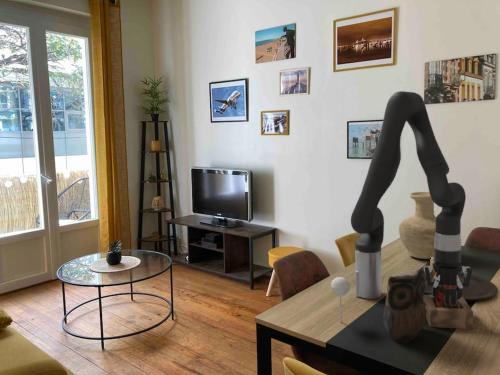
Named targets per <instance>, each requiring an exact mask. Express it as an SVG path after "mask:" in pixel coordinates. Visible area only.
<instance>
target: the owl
mask: <svg viewBox="0 0 500 375" xmlns="http://www.w3.org/2000/svg"><path fill="white" fill-rule="evenodd" d="M425 283H426V281H425V276H424V275H423V267H417V268H414V269H407V270H404V271H401V272H398V273H396V274H393V275H390V276H389V277H388V279H387V286H386V291H387V293H386V298H385V303H384V304H385V305H384V312H383V317H382V319H383V325H384V328H385V331H386V333H387V335H388V338H389V339H390V340H391V341H393V342H396V343H409V342H411V340H415V338H416V339H417V338H418V337H419V336H421V337H422V335H423V328H424V324H425V321H426V320H427V318H426V312H427V311H426V308H425V305H426V304H425V303H424V301H423V296H424V295H425V291H426V284H425Z"/></svg>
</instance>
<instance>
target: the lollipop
mask: <svg viewBox="0 0 500 375" xmlns="http://www.w3.org/2000/svg"><path fill="white" fill-rule="evenodd" d="M350 287H351V286H350V282H349V281H348V280H347V279H346V278H345V277H341V276H338V277H335V278H333V280H332V281H331V283H330V289H331V291H332V293H333V294H334V295H336V296H338V297H339V322H340V323H342V296H346V295H347V294H348V293H349V291H350Z"/></svg>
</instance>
